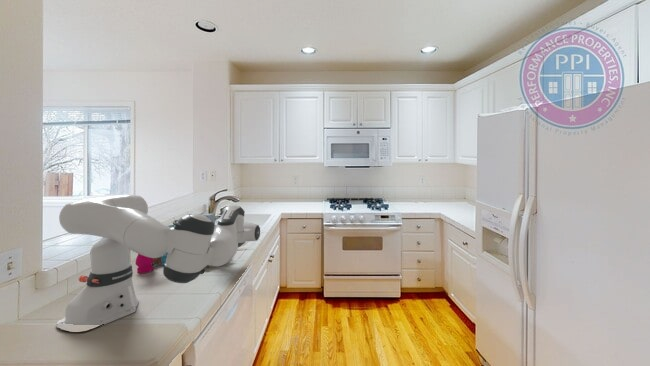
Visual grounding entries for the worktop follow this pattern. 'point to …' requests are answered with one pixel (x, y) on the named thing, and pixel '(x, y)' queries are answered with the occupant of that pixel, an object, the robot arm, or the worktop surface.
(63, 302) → the worktop surface
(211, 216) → the box
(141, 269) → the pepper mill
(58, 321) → the robot arm
